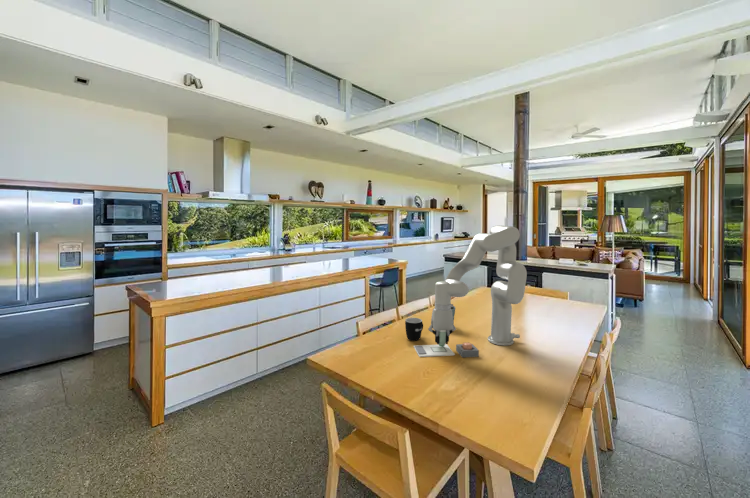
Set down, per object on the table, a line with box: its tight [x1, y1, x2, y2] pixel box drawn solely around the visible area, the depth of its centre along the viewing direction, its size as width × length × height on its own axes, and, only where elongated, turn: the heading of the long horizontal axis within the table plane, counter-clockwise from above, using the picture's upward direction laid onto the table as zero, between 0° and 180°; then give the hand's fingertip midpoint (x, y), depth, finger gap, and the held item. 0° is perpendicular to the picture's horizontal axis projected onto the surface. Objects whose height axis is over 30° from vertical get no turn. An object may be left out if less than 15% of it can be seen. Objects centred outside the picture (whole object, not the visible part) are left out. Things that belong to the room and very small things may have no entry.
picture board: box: [413, 344, 456, 358], centre depth 162 cm, size 17×12×1 cm
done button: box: [462, 342, 473, 350], centre depth 159 cm, size 4×4×3 cm
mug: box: [404, 317, 424, 342], centre depth 178 cm, size 12×9×10 cm
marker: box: [438, 330, 446, 347], centre depth 165 cm, size 4×4×8 cm
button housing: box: [455, 343, 480, 358], centre depth 159 cm, size 8×8×3 cm
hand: (441, 342), depth 165 cm, fingers closed on marker, 3 cm apart
